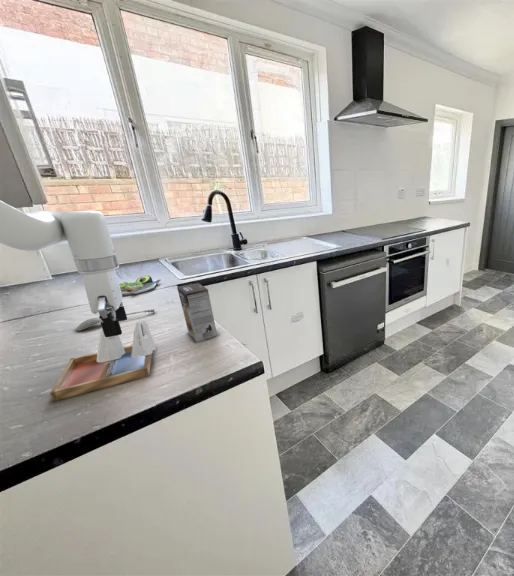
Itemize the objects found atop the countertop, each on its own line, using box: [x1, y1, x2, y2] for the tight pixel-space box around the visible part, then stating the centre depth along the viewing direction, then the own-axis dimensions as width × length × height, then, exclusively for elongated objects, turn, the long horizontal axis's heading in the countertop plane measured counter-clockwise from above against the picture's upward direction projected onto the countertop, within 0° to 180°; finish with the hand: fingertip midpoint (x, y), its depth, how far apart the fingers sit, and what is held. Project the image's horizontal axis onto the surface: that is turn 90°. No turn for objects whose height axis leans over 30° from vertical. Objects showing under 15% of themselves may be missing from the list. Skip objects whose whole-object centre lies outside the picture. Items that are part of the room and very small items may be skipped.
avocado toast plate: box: [119, 274, 162, 297], centre depth 140 cm, size 19×18×5 cm
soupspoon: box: [75, 308, 155, 332], centre depth 110 cm, size 22×3×7 cm
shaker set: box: [96, 319, 157, 363], centre depth 81 cm, size 12×4×11 cm, turn 125°
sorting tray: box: [49, 344, 154, 402], centre depth 81 cm, size 18×17×2 cm
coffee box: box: [176, 282, 218, 343], centre depth 98 cm, size 9×6×16 cm
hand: (117, 327), depth 80 cm, fingers open, 9 cm apart
